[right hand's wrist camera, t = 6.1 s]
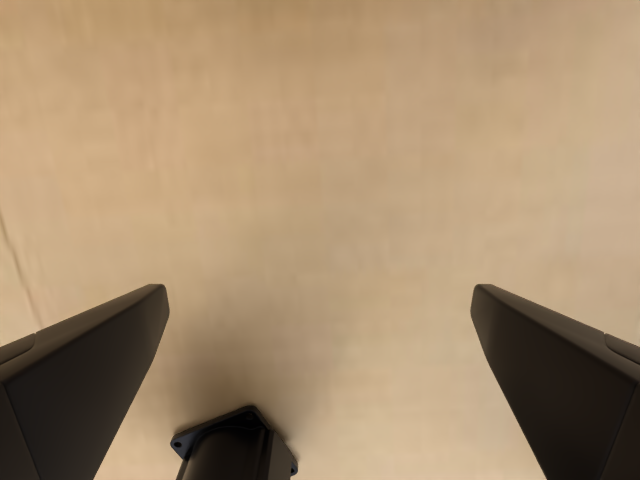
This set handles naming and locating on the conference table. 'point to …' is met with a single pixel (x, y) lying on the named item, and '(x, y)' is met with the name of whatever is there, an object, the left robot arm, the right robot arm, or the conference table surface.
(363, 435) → the conference table surface
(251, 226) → the conference table surface
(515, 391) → the right robot arm
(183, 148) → the conference table surface
